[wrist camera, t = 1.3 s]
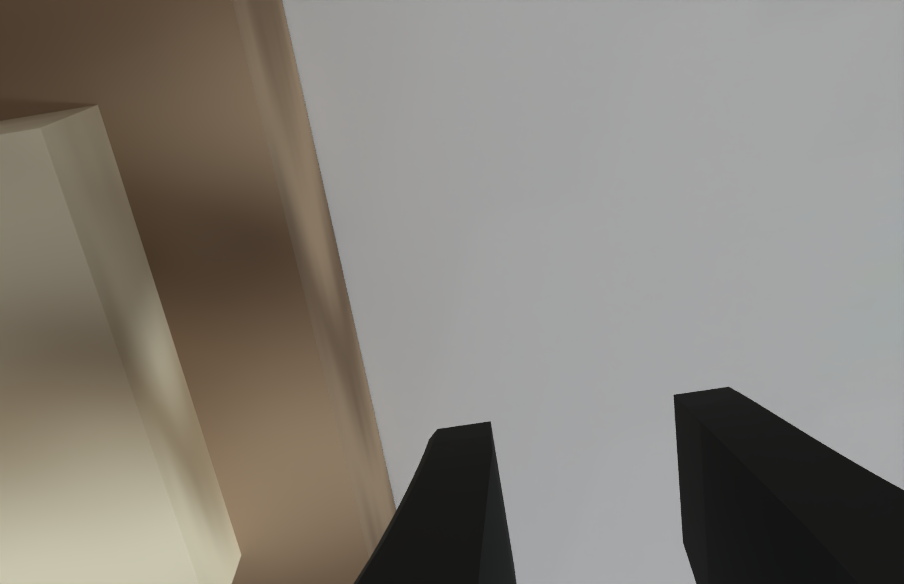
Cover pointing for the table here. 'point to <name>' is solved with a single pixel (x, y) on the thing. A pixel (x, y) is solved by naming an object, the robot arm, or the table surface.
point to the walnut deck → (229, 256)
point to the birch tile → (92, 381)
